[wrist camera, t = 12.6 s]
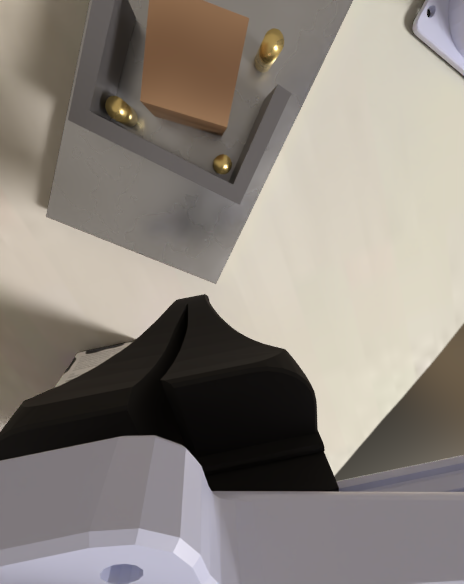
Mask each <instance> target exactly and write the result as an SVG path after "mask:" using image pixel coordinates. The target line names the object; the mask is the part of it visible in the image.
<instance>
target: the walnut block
mask: <svg viewBox="0 0 464 584" xmlns="http://www.w3.org/2000/svg"><path fill="white" fill-rule="evenodd" d="M248 22H249V18H247V17H245V16H242V15H240V14H237V13H235V12H232V11H229V10H227V9H224V8H222V7H219V6H216V5H214V4H211V3H209V2H206V1H204V0H149V6H148V17H147V29H146V40H145V51H144V63H143V74H142V85H141V97H140V101H141V102H142V103H143V105H144V106H145V107H146V108H147V109H148V110H149V111H150V112H151V113H152V114H153V115H154V116H155V117H158V118H161V119H165V120H168V121H172V122H175V123H178V124H182V125H185V126H189V127H192V128H195V129H199V130H202V131H206V132H209V133H212V134H216V135H219V136H222V135H223V133H224V132H225V130H226V128H227V125H228V120H229V115H230V111H231V106H232V101H233V96H234V91H235V86H236V81H237V76H238V71H239V67H240V62H241V57H242V52H243V47H244V42H245V37H246V32H247V27H248Z"/></svg>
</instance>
